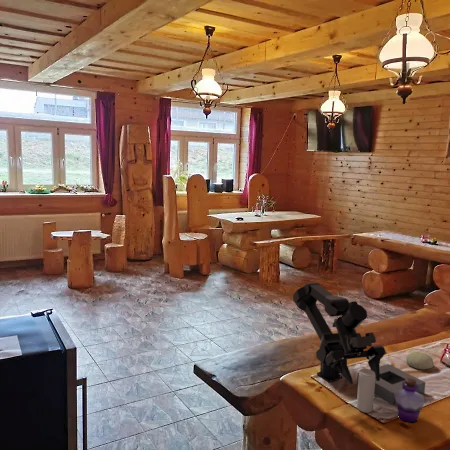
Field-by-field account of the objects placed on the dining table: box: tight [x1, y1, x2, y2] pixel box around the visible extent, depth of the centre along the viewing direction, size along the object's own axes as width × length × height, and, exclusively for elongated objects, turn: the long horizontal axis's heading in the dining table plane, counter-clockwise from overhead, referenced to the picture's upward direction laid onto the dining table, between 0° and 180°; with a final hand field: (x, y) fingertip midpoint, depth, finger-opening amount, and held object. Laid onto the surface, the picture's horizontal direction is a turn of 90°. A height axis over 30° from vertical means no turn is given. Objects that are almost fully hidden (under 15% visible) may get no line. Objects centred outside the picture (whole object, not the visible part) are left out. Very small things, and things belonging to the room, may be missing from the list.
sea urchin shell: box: [405, 351, 434, 370], centre depth 166 cm, size 9×8×8 cm
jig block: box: [356, 363, 426, 406], centre depth 148 cm, size 15×15×4 cm
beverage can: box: [356, 368, 375, 414], centre depth 135 cm, size 5×5×12 cm
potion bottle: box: [394, 378, 425, 424], centre depth 131 cm, size 9×9×12 cm
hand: (365, 382), depth 135 cm, fingers open, 9 cm apart
